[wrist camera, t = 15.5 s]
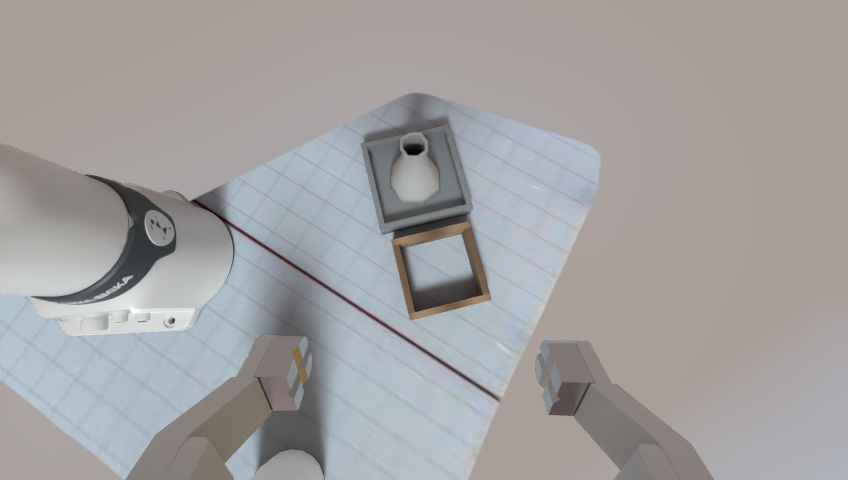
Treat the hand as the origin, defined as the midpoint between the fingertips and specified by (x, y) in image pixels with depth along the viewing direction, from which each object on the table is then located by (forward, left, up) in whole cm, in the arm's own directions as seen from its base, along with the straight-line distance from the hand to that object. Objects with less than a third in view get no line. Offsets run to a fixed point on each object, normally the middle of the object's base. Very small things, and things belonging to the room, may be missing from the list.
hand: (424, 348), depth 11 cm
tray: (+4, +18, -31) cm, 37 cm away
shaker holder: (+4, +5, -31) cm, 32 cm away
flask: (+4, +18, -31) cm, 36 cm away
